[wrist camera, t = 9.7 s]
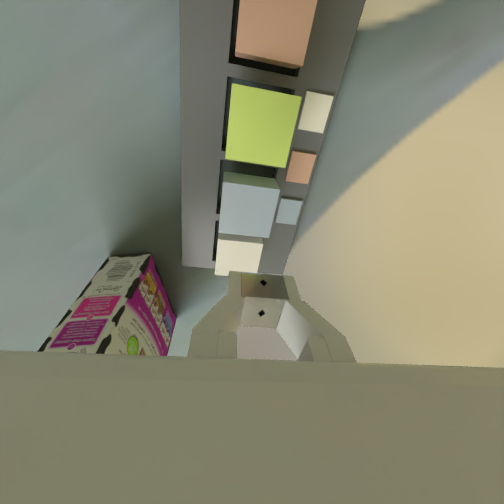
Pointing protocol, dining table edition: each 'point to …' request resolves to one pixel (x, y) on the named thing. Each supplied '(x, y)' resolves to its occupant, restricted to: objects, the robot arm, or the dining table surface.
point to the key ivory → (237, 253)
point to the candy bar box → (118, 312)
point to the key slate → (248, 204)
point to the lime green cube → (260, 125)
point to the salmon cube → (274, 31)
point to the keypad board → (213, 110)
